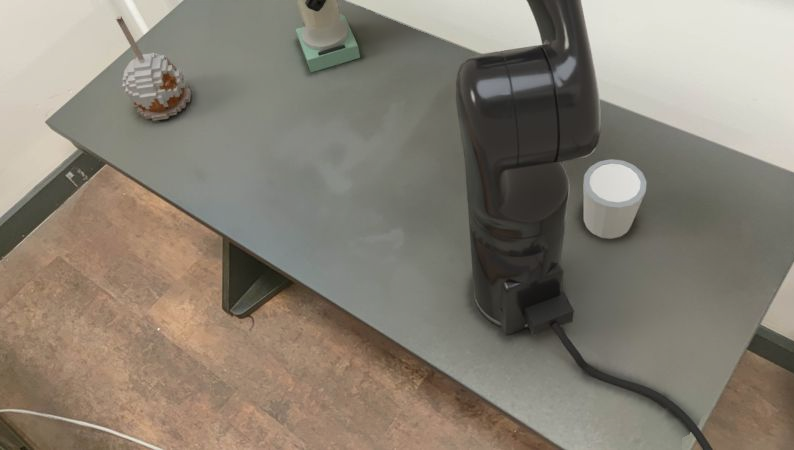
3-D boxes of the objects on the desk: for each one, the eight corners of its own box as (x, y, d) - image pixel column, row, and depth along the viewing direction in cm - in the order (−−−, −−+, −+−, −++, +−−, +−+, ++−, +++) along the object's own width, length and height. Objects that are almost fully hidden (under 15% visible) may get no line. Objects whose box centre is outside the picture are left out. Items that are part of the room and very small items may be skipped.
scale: (360, 57, 103) (356, 40, 101) (310, 72, 102) (305, 55, 100) (347, 27, 108) (343, 10, 105) (299, 41, 107) (294, 24, 104)
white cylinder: (602, 187, 86) (609, 149, 80) (649, 217, 82) (659, 179, 77) (566, 220, 83) (570, 184, 77) (613, 253, 80) (621, 217, 74)
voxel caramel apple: (189, 118, 99) (145, 33, 87) (135, 126, 99) (82, 41, 87) (194, 80, 103) (152, -6, 91) (142, 88, 103) (93, 3, 91)
